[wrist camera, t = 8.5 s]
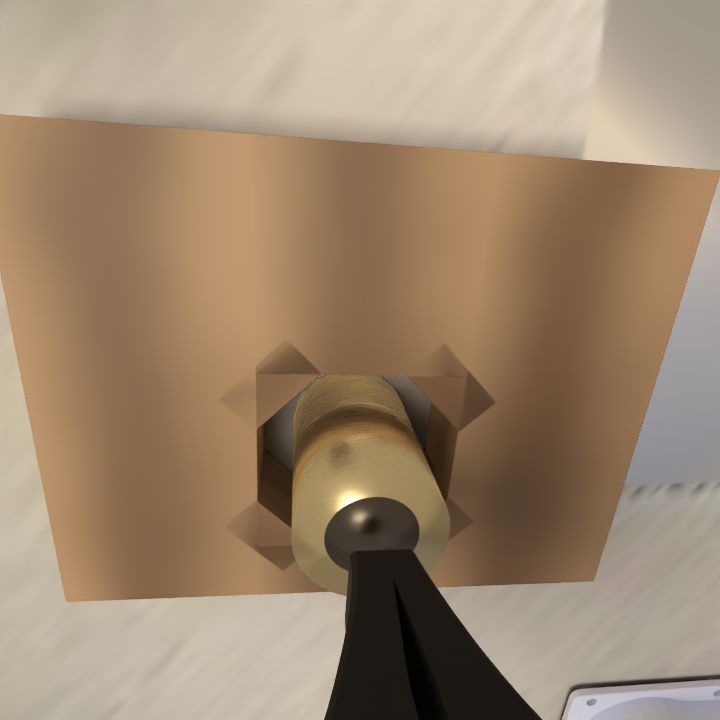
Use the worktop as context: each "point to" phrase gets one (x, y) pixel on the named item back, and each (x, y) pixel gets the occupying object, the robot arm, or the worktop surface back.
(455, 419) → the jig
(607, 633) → the worktop surface
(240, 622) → the worktop surface
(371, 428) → the bushing
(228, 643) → the worktop surface
